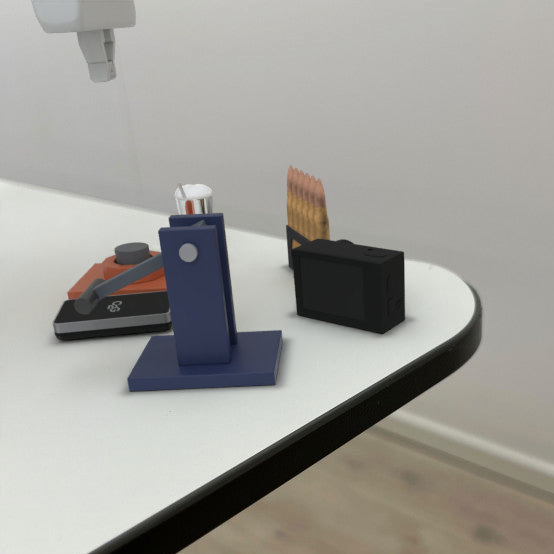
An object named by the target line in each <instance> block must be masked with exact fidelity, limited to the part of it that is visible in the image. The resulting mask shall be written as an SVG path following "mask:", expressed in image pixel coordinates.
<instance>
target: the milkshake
mask: <svg viewBox="0 0 554 554" xmlns="http://www.w3.org/2000/svg"><path fill="white" fill-rule="evenodd" d="M176 183H177V188H176V190H175V192H174V199H175V204H176V207H177V211H178V215H184V214H207V213H214V204H213V203H214V201H213V200H214V198H213V197H214V195H213V194H214V193H213V190H212V188H210V187H209V186H207V185H206V184H203V183H196V184H190V183H187V184H185V185H182V183H181V182H176Z"/></svg>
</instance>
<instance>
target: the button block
mask: <svg viewBox="0 0 554 554" xmlns="http://www.w3.org/2000/svg"><path fill="white" fill-rule="evenodd" d="M149 251H150V257H153V256H155V255H157V254H159V253H161V251H158V250H157V251H156V250H150V249H149ZM136 265H137V264H134V265H120V264H117V261H116V255H115V254H113V255H110V256H108V257H105V259H104V260H103V261H102V262H97V263H94V264H93V265H92V266H91V267H90V268H89V269H88V270H87V271H86V272H85V273H84V274H83V275H82V276H81V277H80V278H79V280H77V281H76V283H75V284H73V286H72V287H71V288H70V289H69V290H68V291H67V292H66V294H67V298H68V299H67V300H69V299H77V298H78V297H79V296H80V295H81V294H82V293H83V292H84V291H85V290H86V289H87V287H88V286H89V285H90V284H91V283H92V282H93V281H94V280H95V279H98V278H101V279H104V280H105V281H107V280H108V279H110V278H112V277H114V276H116V275H118V274H120V273H122V272H124V271H126V270H128V269H130V268H132V267H134V266H136ZM156 291H167V287H166V280H165V274H164V267H163V268H161V269H159V270H157V271H155V272H153V273H151V274H149V275H147V276H145V277H143V278H141V279H139V280H137V281H135V282H133V283H131V284H129V285H128V286H126V287H124V288H122V289H120V290H118V291H116V292H114V293H112V294H110V295H108V296H112V295H123V294H134V293H145V292H156Z"/></svg>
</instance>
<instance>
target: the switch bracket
mask: <svg viewBox="0 0 554 554" xmlns="http://www.w3.org/2000/svg"><path fill="white" fill-rule="evenodd" d="M201 220H204V221H205V223H206V224H207V226H192V225H193V224H195V223H197V222H199V221H201ZM168 224H169V225H168V226H166V227H160V228H159V229H158V230H157V234H158V241H159V245H160V252H161V254H162V261H163V267H164V274H165V280H166V287H167V293H168V300H169V307H170V313H171V320H172V326H171V327H172V331H173V334H167V335H166V334H165V335H164V334H163V335H151V336H150V338H149V339H148V341H147V343H146V344H145V347H144V349H143V350H142V351H141V354H140V356H139V357H138V359H137V361H136V363H135V364H134V366H133V367H132V370H131V371H130V373H129V374H128V376H127V378H126V379H127V384H128V391H129V392H141V391H143V392H145V391H146V392H147V391H164V390H165V391H166V390H187V389H190V390H191V389H209V388H227V387H228V388H231V387H233V388H234V387H254V386H275V385H276V383H277V376H278V371H279V366H280V360H281V359H280V358H281V354H282V349H283V342H284V340H283V339H284V338H283V331H282V330H281V329H278V330H277V329H275V330H274V329H273V330H253V331H237V322H236V313H235V303H234V295H233V286H232V278H231V269H230V259H229V251H228V244H227V243H228V242H227V234H226V225H225V216H224V213H223V212H213V213H207V214H184V215H179V214H171V215H170V216H169V217H168Z"/></svg>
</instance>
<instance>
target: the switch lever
mask: <svg viewBox="0 0 554 554" xmlns="http://www.w3.org/2000/svg"><path fill="white" fill-rule="evenodd" d="M192 226H207V224H206V223H205V221H204V220H201V221H199V222H197V223H195V224H193V225H192ZM161 268H163V261H162V254H161V253H159V254H157V255H155V256H153V257H151V258H149V259H147V260H145V261H143V262H141V263H139V264H137V265H136V266H134V267H132V268H130V269H128V270H126V271H124V272H122V273H120V274H118V275H116V276H114V277H112V278H110V279H108V280H107V281H105V280H104V279H101V278H98V279H95V280H94V281H93V282H92V283H91V284H90V285H89V286H88V287H87V289H86V290H85V291H84V292H83V293H82V294H81V295H80V296H79V297H78V298H77V300H76V301H75V303H74V307H75V309H76V311H77V312H78V313H80V314H88V313H90V312H91V311H92V310H93V308H94V307H95V306H96V305H97V303H98V302H99V301H100V300H101V299H102V298H104V297H106V296H108V295H110V294H112V293H114V292H116V291H118V290H120V289H122V288H124V287H126V286H128V285H129V284H131V283H133V282H135V281H137V280H139V279H141V278H143V277H145V276H147V275H149V274H151V273H153V272H155V271H157V270H159V269H161Z"/></svg>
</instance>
